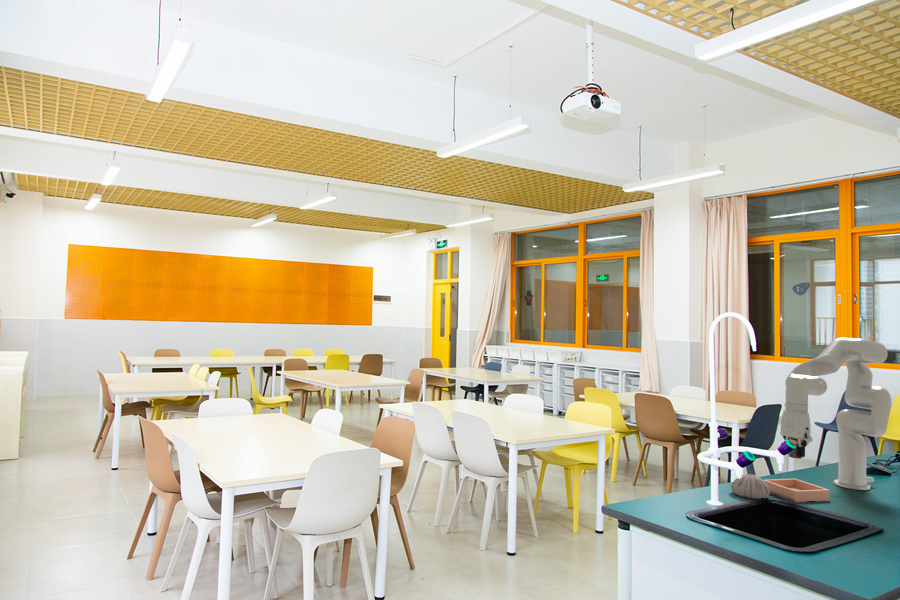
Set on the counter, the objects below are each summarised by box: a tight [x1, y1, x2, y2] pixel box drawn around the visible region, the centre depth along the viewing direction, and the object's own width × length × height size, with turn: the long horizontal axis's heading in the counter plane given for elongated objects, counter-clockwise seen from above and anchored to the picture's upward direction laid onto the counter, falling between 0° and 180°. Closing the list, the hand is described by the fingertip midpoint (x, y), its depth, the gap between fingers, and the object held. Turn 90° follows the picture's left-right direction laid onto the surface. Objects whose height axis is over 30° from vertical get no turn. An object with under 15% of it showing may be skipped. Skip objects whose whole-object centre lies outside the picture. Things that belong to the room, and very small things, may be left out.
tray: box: [762, 478, 831, 503], centre depth 226 cm, size 16×16×4 cm
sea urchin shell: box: [730, 473, 771, 500], centre depth 223 cm, size 13×14×8 cm
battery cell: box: [788, 438, 803, 459], centre depth 226 cm, size 4×4×8 cm
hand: (795, 454), depth 226 cm, fingers closed on battery cell, 4 cm apart
